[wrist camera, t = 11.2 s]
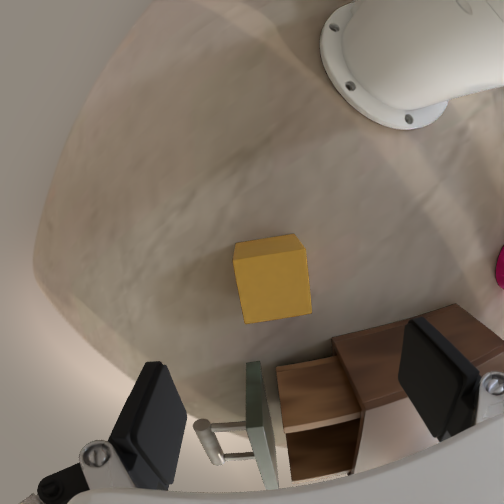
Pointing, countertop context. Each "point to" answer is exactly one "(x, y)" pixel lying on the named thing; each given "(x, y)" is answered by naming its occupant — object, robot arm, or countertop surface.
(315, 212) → the countertop surface
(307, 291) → the block
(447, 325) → the cabinet
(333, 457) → the drawer
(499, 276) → the pepper mill
